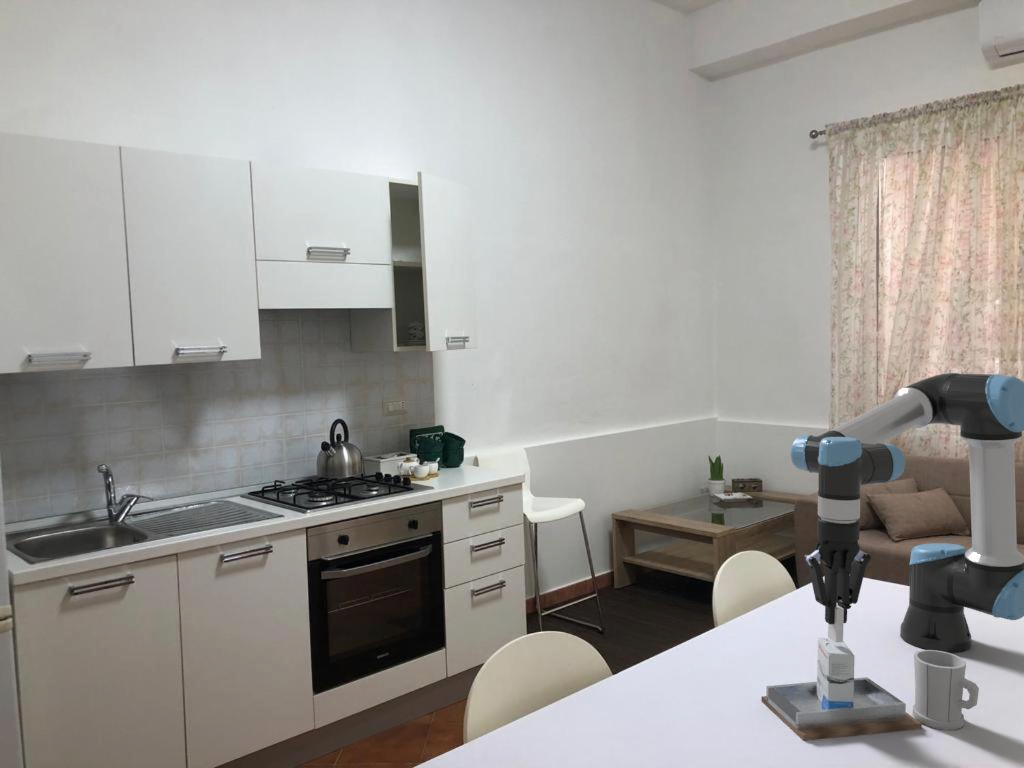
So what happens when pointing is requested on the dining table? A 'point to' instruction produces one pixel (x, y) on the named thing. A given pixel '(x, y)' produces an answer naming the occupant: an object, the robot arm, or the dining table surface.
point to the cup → (941, 689)
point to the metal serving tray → (809, 712)
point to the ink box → (835, 674)
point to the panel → (850, 727)
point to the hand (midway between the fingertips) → (835, 639)
